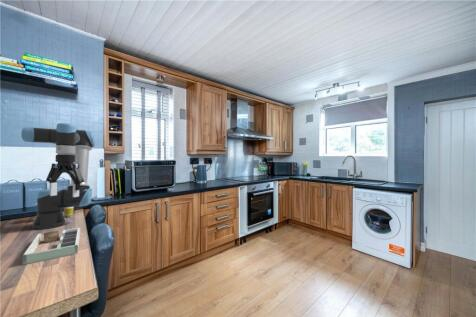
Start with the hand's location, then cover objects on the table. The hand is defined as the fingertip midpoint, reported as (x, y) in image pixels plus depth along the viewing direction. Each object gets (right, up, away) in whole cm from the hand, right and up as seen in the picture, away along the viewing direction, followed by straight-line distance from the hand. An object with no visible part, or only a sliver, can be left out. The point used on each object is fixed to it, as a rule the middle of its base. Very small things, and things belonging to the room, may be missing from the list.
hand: (64, 196), depth 100 cm
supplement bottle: (-36, -24, +45) cm, 63 cm away
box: (+2, -22, -7) cm, 24 cm away
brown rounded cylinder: (-7, -23, 0) cm, 24 cm away
